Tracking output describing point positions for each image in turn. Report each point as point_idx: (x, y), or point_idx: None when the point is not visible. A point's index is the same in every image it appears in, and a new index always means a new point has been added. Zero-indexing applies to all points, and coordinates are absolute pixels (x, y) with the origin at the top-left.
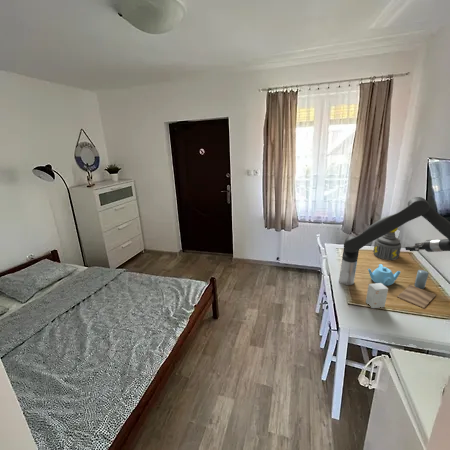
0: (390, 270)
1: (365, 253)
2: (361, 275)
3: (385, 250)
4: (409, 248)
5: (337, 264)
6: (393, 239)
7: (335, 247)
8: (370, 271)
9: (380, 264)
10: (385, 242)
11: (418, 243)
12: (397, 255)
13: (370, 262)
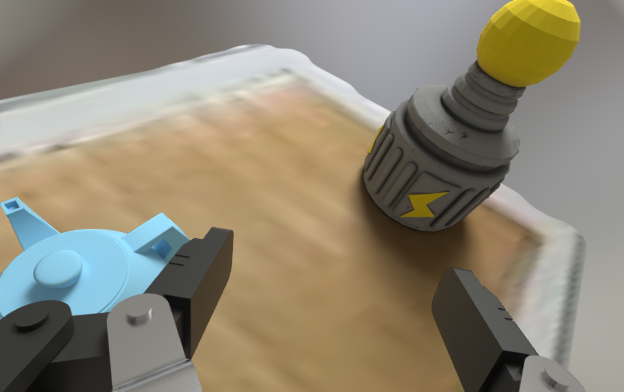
0: (92, 313)
1: (347, 138)
2: (90, 210)
3: (391, 164)
4: (10, 342)
5: (135, 107)
6: (476, 130)
7: (289, 66)
8: (13, 224)
9: (163, 219)
10: (416, 123)
11: (482, 319)
12: (438, 220)
13: (287, 178)
